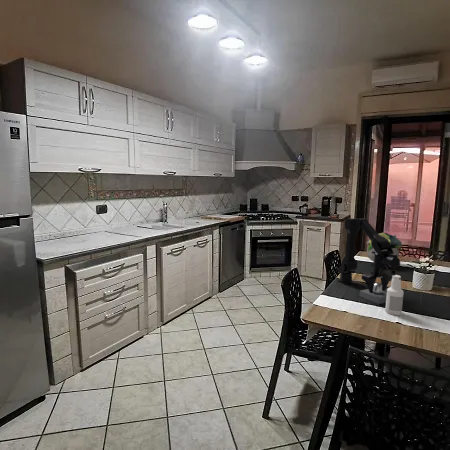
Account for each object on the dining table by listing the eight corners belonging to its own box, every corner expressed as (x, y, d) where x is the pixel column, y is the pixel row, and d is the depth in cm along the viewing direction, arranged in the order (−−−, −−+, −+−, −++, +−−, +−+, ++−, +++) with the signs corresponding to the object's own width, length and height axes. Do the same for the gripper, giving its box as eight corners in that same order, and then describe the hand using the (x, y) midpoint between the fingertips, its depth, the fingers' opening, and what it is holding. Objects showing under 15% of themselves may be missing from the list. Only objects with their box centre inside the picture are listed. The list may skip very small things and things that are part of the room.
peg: (370, 297, 166) (372, 283, 165) (376, 296, 168) (377, 282, 167) (377, 300, 163) (378, 285, 162) (382, 299, 164) (384, 284, 163)
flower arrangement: (367, 259, 247) (369, 229, 244) (402, 264, 233) (406, 232, 229) (359, 266, 227) (362, 233, 224) (398, 272, 213) (401, 237, 209)
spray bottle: (395, 316, 143) (399, 279, 140) (382, 311, 149) (385, 274, 146) (404, 313, 146) (408, 277, 144) (391, 308, 152) (394, 273, 150)
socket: (359, 295, 168) (359, 290, 168) (375, 292, 173) (375, 287, 173) (378, 304, 157) (378, 298, 157) (394, 300, 162) (395, 295, 162)
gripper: (380, 269, 152) (377, 299, 154) (406, 265, 159) (403, 294, 161) (361, 263, 162) (359, 292, 164) (387, 260, 169) (384, 287, 171)
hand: (377, 291), depth 165 cm, fingers open, 9 cm apart
